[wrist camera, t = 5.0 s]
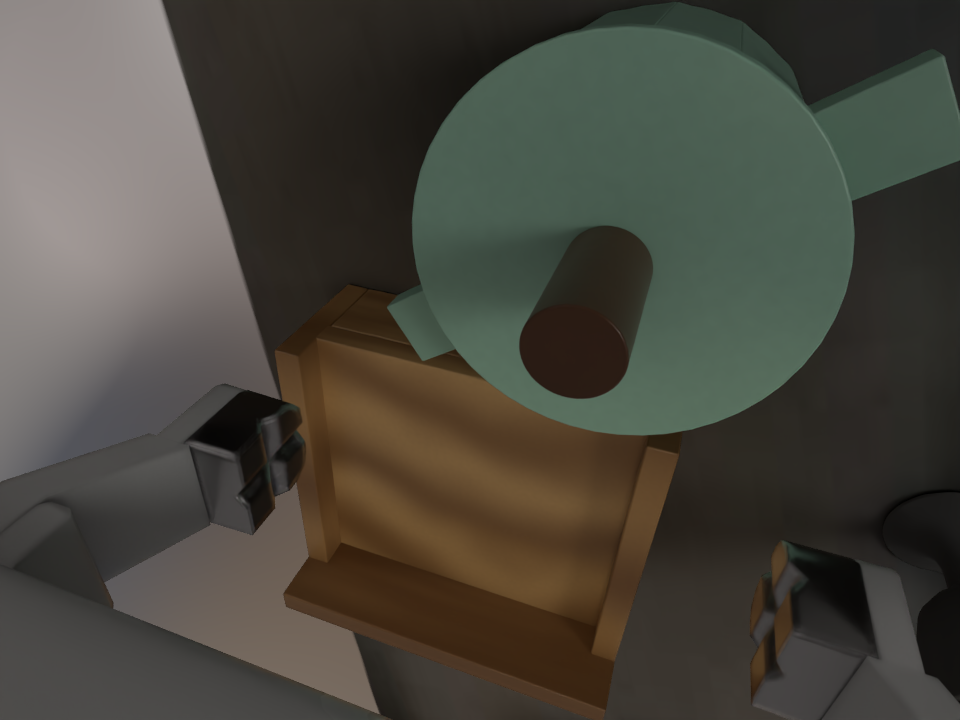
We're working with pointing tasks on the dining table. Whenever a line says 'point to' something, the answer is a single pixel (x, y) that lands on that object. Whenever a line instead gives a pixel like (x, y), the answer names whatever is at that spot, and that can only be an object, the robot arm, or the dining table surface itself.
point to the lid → (633, 229)
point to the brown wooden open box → (464, 511)
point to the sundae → (937, 547)
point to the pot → (844, 116)
